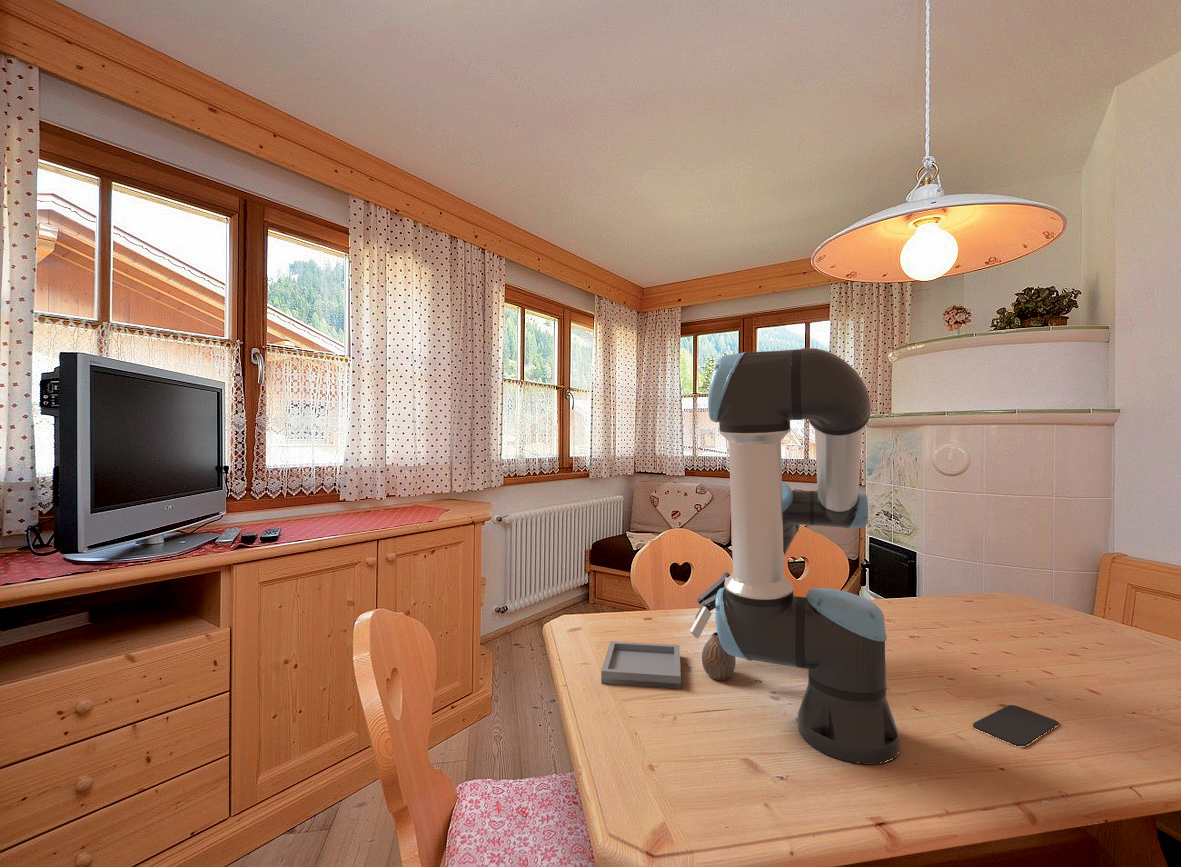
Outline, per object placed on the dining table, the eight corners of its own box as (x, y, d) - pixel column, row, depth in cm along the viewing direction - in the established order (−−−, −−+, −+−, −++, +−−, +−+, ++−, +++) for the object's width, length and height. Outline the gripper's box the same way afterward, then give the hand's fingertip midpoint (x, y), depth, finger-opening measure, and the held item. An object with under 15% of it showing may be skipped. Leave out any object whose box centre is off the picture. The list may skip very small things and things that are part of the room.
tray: (680, 688, 103) (680, 676, 103) (601, 683, 105) (601, 671, 105) (679, 656, 118) (679, 645, 119) (610, 651, 121) (610, 641, 121)
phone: (1062, 722, 89) (1022, 746, 82) (1062, 727, 89) (1022, 751, 82) (1010, 703, 96) (969, 724, 88) (1010, 707, 96) (969, 729, 88)
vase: (741, 675, 109) (741, 633, 109) (725, 687, 103) (725, 643, 104) (712, 665, 113) (712, 625, 113) (695, 676, 108) (695, 634, 108)
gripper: (818, 585, 109) (777, 675, 100) (725, 563, 130) (683, 636, 121) (804, 563, 106) (760, 654, 97) (710, 544, 127) (667, 618, 118)
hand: (717, 644), depth 109 cm, fingers open, 13 cm apart
